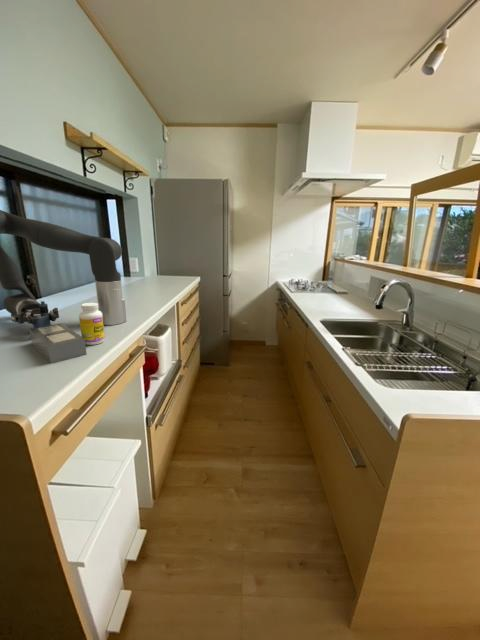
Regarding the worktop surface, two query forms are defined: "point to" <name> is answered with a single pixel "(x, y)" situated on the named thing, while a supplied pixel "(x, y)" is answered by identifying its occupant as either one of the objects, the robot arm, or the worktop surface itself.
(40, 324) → the vaping device
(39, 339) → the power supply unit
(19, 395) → the worktop surface
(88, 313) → the supplement bottle
